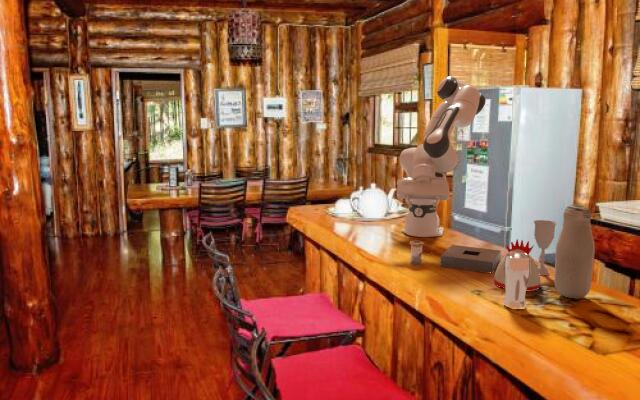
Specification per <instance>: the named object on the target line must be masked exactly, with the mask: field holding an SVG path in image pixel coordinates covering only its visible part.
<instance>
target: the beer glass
mask: <svg viewBox="0 0 640 400" xmlns="http://www.w3.org/2000/svg"><path fill="white" fill-rule="evenodd" d="M505 255H506V257H505V263H504V281H505V289H504V290H505V296H504V301H503V304H505V305H507V306H510V307H516V308H520V307H525V306H526V307H527V303H526V293H527V292H526V289H527V286H528V282H529V277H530V256H531V255H530V256H529V255H527V254H524V253H515V252H512V253H508V252H507V253H505Z"/></svg>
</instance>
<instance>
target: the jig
mask: <svg viewBox="0 0 640 400" xmlns="http://www.w3.org/2000/svg"><path fill="white" fill-rule="evenodd" d="M501 256H502V250H500V249H491V248H485V247H484V248H483V247H475V246H464V245H455V244H452V245H451V246H450V247H449V248H448V249H446V250H445V251H444V252H443V253H442V254H441V255H440V264H439V265H440V268H441V267H442V268H448V267H449V269H455V268H458V269H457V270H463V269H466V270H465V271H470V270H473V271H472V272H478V271H482V272H481V273H485V272H491V273H490V274H493V273H494V272H495V271H496V269H497V267H498V266H497V265H499V264H498V263H500V261H501V259H502V258H501ZM496 266H497V267H496ZM495 268H496V269H495ZM493 271H494V272H493ZM492 272H493V273H492Z"/></svg>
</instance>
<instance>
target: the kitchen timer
mask: <svg viewBox="0 0 640 400" xmlns="http://www.w3.org/2000/svg"><path fill="white" fill-rule="evenodd" d="M510 245H511V248H510V247H509V245H508V244H506V245H505V247H506V249H507V253H512V252H515V253H524V254H527V255H529V256H530V277H529V282H528V286H527V289H526V290H532V289H537V288H539V287H540V288H541V277H540V276H541V275H539V272H538V268H537V267H538V266H539V265H537V263H536V261H535V260H534V258H533V257H532V255H531V254H530V253H531V251H532V250H533V248H534V244H533V245H532V246H531V247H530V241H529V240H528V241H527V242H526V245H525V246H524V239H522V240H521V241H520V244H519V240H518V238H517V239H516V240H515V244H514V242H513V241H511V242H510ZM505 257H506V254H505V255H504V256H503V257H502V258H501V261H500V262H499V264H498V266H497V267H496V269H495V271H494V275H493V276H494V278H493V284H494V283H495V284H496V285H498V286H500V287H504V288H505V281H504V263H505ZM495 284H494V285H495ZM496 285H495V286H496ZM498 286H497V287H498ZM500 287H499V288H500Z"/></svg>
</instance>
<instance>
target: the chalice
mask: <svg viewBox="0 0 640 400" xmlns="http://www.w3.org/2000/svg"><path fill="white" fill-rule="evenodd" d="M533 223H534V232H533V233H534V239H535V242H536V244H537V246H538V248H539V249H541V252H540V253H539V256H540V259H539V261H540V264H539V265H537V266H538V267H537V268H538V272H539V274H541V275H540V276H542V275H547V276H549V275H550V272H549V270H548V267H547V266H545V261H546V259H545V257H546V253H545V251H546V250H547V249H549V248H550V245H551V244H552V242H553V241H554V238H555V229H556V225H557V223H558V222H557V221H553V220H544V219H538V220H537V219H536V220H533ZM548 274H549V275H548Z"/></svg>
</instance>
